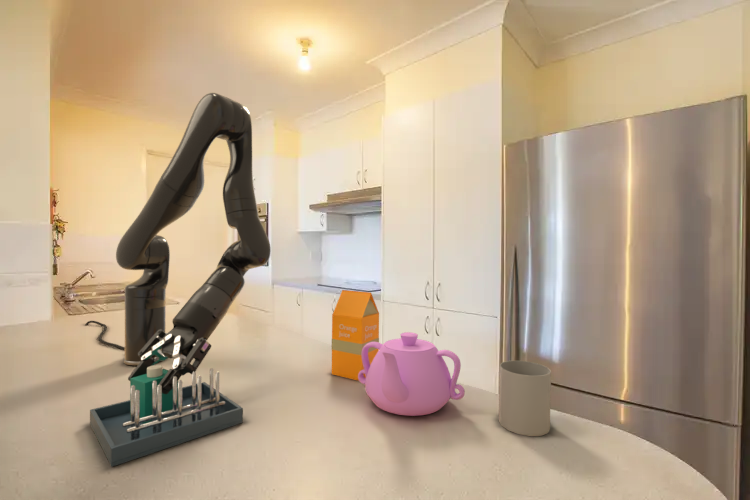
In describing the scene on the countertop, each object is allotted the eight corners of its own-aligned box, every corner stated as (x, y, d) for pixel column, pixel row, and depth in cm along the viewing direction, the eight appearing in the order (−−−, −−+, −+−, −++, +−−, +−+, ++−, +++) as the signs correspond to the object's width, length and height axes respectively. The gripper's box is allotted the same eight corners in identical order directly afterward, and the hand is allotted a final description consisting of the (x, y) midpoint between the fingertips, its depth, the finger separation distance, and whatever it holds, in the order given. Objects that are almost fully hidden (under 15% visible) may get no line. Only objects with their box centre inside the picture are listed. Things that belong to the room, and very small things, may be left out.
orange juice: (361, 381, 87) (362, 294, 87) (330, 374, 92) (331, 291, 91) (379, 372, 94) (380, 290, 93) (349, 365, 98) (350, 288, 98)
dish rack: (122, 442, 58) (122, 386, 58) (218, 413, 68) (218, 365, 68) (127, 451, 56) (127, 392, 56) (225, 419, 66) (226, 370, 66)
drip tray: (89, 424, 65) (89, 409, 65) (204, 394, 79) (204, 381, 79) (111, 467, 53) (111, 448, 53) (242, 422, 67) (242, 407, 66)
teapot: (327, 420, 68) (327, 343, 67) (373, 380, 88) (374, 320, 88) (451, 446, 59) (452, 358, 59) (470, 395, 79) (471, 329, 79)
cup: (547, 418, 70) (548, 363, 70) (552, 439, 62) (553, 378, 62) (499, 410, 72) (499, 358, 72) (498, 430, 65) (499, 372, 64)
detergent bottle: (130, 418, 66) (130, 369, 66) (163, 405, 72) (163, 360, 72) (144, 424, 64) (144, 374, 64) (178, 410, 70) (178, 364, 69)
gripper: (169, 297, 78) (107, 369, 68) (216, 303, 71) (155, 384, 61) (192, 319, 82) (138, 389, 73) (239, 326, 76) (186, 405, 66)
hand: (146, 387), depth 67 cm, fingers open, 8 cm apart
